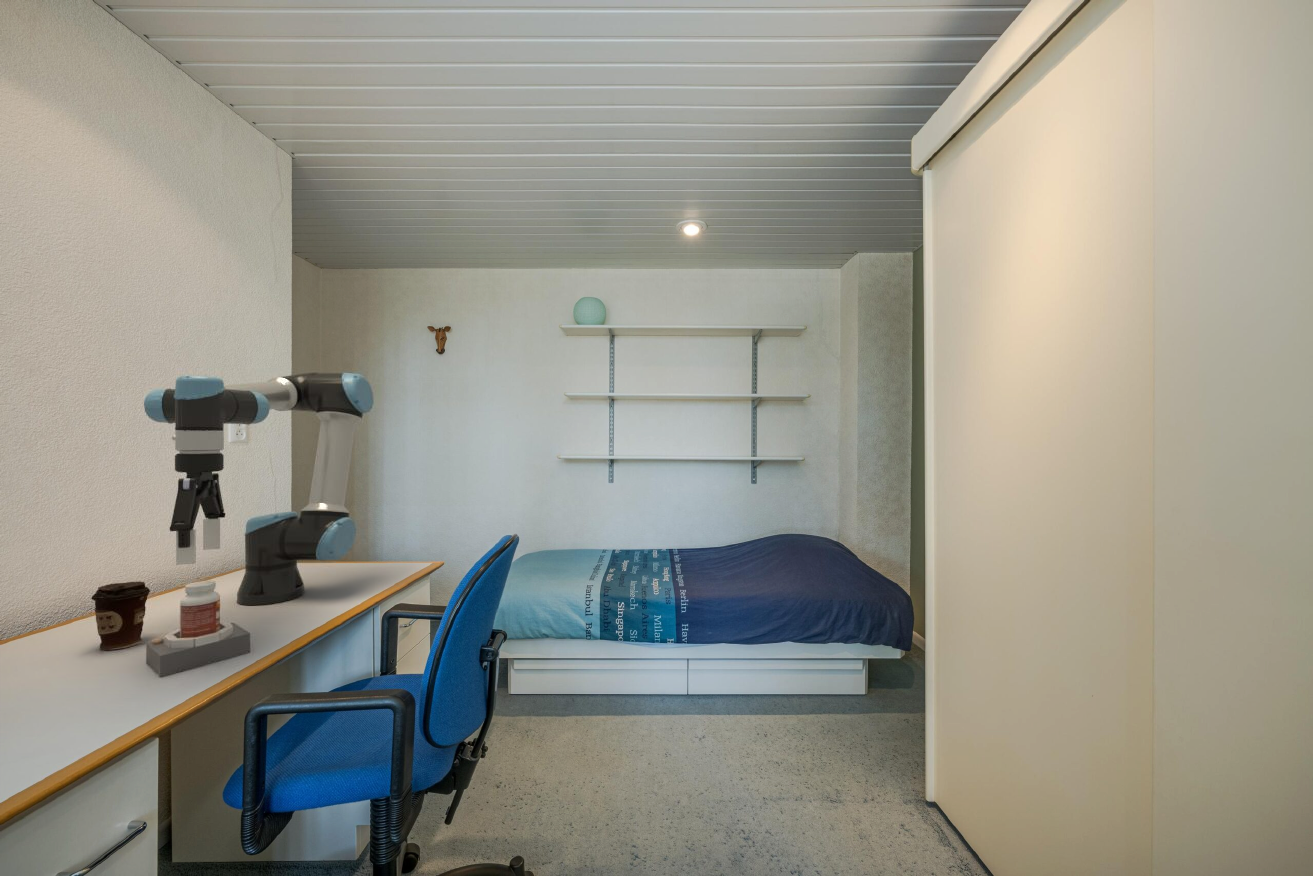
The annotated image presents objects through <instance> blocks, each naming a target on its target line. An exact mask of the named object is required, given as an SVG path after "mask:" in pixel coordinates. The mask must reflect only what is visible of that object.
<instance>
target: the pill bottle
mask: <svg viewBox="0 0 1313 876" xmlns="http://www.w3.org/2000/svg"><path fill="white" fill-rule="evenodd" d="M215 589H216V581H215V580H203V581H195V582H191V583H187V584H186V585H185V586H184V591H185V594H186V595H184V596H183V597H182V598H181V599H180V602H179V629H180V638H194V637H199V636H204V635H208V634H212V633H216V632H218V631H219V630H220V622H221V595H220V594H219V592H217V591H215Z"/></svg>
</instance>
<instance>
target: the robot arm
mask: <svg viewBox="0 0 1313 876" xmlns="http://www.w3.org/2000/svg"><path fill="white" fill-rule="evenodd" d="M143 406H144V407H143V409H144V412H145V414H146V416H147V417H148V418H149V419H150V420H152V421H154V422H156V423H166V424H169V425H170V424H174V425H175V426H174V435H173V436H172V437H171V439H172V441H174V444H175V445H174V447H175V448H174V450H175V451H177V452H179V453H176V454H175V455H174V471H175V472H176V473H185V474H186V477H185V478H178V481H177V482H178V483H177V491H176V492H177V493H176V498H175V503H174V508H173V511H172V516H171V517H172V518H171V523H170V526H169V531H170V532H176V534H175V535H176V536H175V539H176V540H175V541H176V542H175V544H176V545H175V547H176V548H175V550H176V551H175V555H176V557H175V558H176V559H175V560H176V561H175V564H176V566H179V565H191V564H192V565H193V564H196V563H197V561H196V560H197V559H196V558H197V545H196V544H197V541H196V539H197V535H196V534H197V532H196V531H197V529H195V527H194V526H195V523H196V520H197V517H198V513H199V509H200V508H201V510H202V512H203V515H204V519H202V551H204V550H205V551H206V550H208V551H209V550H219V549H221V519H222V518H224V519H225V517H226V512H225V509H224V504H223V497H222V492H221V487H220V475H219V473H215V472H222V470H224V468H225V466H224V463H225V462H224V459H225V457H224V456H225V455H224V454H223V453H222V452H221V451H223V450H225V449H224V448H225V445H224V443H225V441H224V440H225V434H224V433H225V432H224V431H225V430H224V424H227V425H228V424H230V425H231V424H233V425H248V426H249V425H251V424H252V425H253V424H259V423H262V422H263V421H264V420H266V419H267V418H268V416H269V413H270V410H275V411H276V412H277V411H278V412H287V411H299V412H301V411H302V412H310V413H311V412H312V413H315V416H316V417H317V418H318V420H320V428H319V435H318V440H317V448H316V454H315V461H314V465H313V466H314V467H313V473H312V474H313V475H312V480H311V486H310V493H309V500H308V504H307V505H306V506H304V507H303V508H301V510H300V516H299V514H298V512H297V511H287V512H286V511H285V512H278V513H271V514H270V513H269V514H265V515H259V516H255V517H252V518H250V519H248V520H247V521H246V524H245V533H244V543H245V544H244V548H245V553H244V554H245V558H244V559H245V561H244V562H245V564H244V565H245V566H244V567H245V568H244V575H243V577H242V579H241V583H240V586H239V587H238V590H237V593H236V602H237V604H240V605H245V606H261V605H270V604H276V603H281V602H285V601H290V600H293V599H297V598H299V597H300V596H303V595H304V594H305V584H304V580H303V578H302V576H301V573H300V571H299V569H298V561H320V562H325V561H326V562H327V561H335V560H339V559H341V558H343V557H344V556H346V555H347V554H348V552H349V551H350V550H351V549H352V546H353V545H354V542H355V539H356V535H357V527H356V523H355V520H353V519H352V518H351V517H350V511H349V510H348V509H347V508H346V506H345V501H346V494H347V487H348V480H349V474H350V467H351V458H352V452H353V443H354V437H355V431H356V430H355V429H356V425H358V424H359V423H361V422H362V420H363V415H364V414H366V413H369V412H371V410H372V409H373V406H374V392H373V390H372V386H371V385H370V382H369V381H368V378H366V377H365V376H363V375H362V374H359V373H352V372H351V373H350V372H305V373H304V372H303V373H297V374H292V375H285V376H277V377H271V378H270V379H268V380H266V381H259V382H249V383H235V384H226V385H225V383H224V380H223V379H222V378H220V377H217V376H207V375H206V376H205V375H180V376H178V377H177V378H176V379H175V387H174V388H173V389H172V388H165V389H164V388H162V389H160V388H159V389H155V390H152V391H150V392H149V393H148V394H147V395H146V396H145V398H144V402H143ZM200 506H201V507H200Z"/></svg>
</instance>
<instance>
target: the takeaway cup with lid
mask: <svg viewBox="0 0 1313 876" xmlns="http://www.w3.org/2000/svg"><path fill="white" fill-rule="evenodd" d="M150 593H151V589H150V588H149V587H148V586H146V582H144V581H128V582H117V583H115V582H114V583H110V584H106V585H102V586H99V587H97V590H96V592H95V593H94V594H93V595H92V596H91V598H90V599H91V601H94V605H95V607H94V613H95V622H96V627H97V634H98V636H99V638H100V643H99V649H100V650H105V651H110V650H120V649H125V648H126V649H127V648H130V647H133V646H136V645H138V644H141V643H142V638H141V637H142V633H143V626H144V623H145V622H144V618H145V615H146V608H147V607H146V602H147V600H148V596H149V594H150Z"/></svg>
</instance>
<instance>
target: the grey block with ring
mask: <svg viewBox="0 0 1313 876" xmlns="http://www.w3.org/2000/svg"><path fill="white" fill-rule="evenodd" d="M145 646H146V647H145V648H146V650H145V651H146V653H145V658H146V659H145V662H146V663H145V664H146V665H147V666H148V667H149V668H151V670H152V671H153V672H155V674H156V675H157V676H159V678H161V677H166V676H168V675H172V674H176V673H179V672H184V671H186V670H190V669H191V670H192V669H194V668H198V667H201V666H204V665H210V664H212V663H215V662H219V661H223V660H227V659H231V658H234V657H238V656H241V655H245V654H249V653H251V633H250V632H249V631H248V630H246V629H244V628H242V627H241V626H239V625H238V624H236V623H234V622H231V623H230V622H228V621H220V630H219V631H218V632H216V633H212V634H208V635H204V636H199V637H194V638H180V628H177V629H175V630H172V631H171V632H168V633H167V634H165V635H164V637H162V636H160V637H154V638H152V641H149V642H146V643H145Z"/></svg>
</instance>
